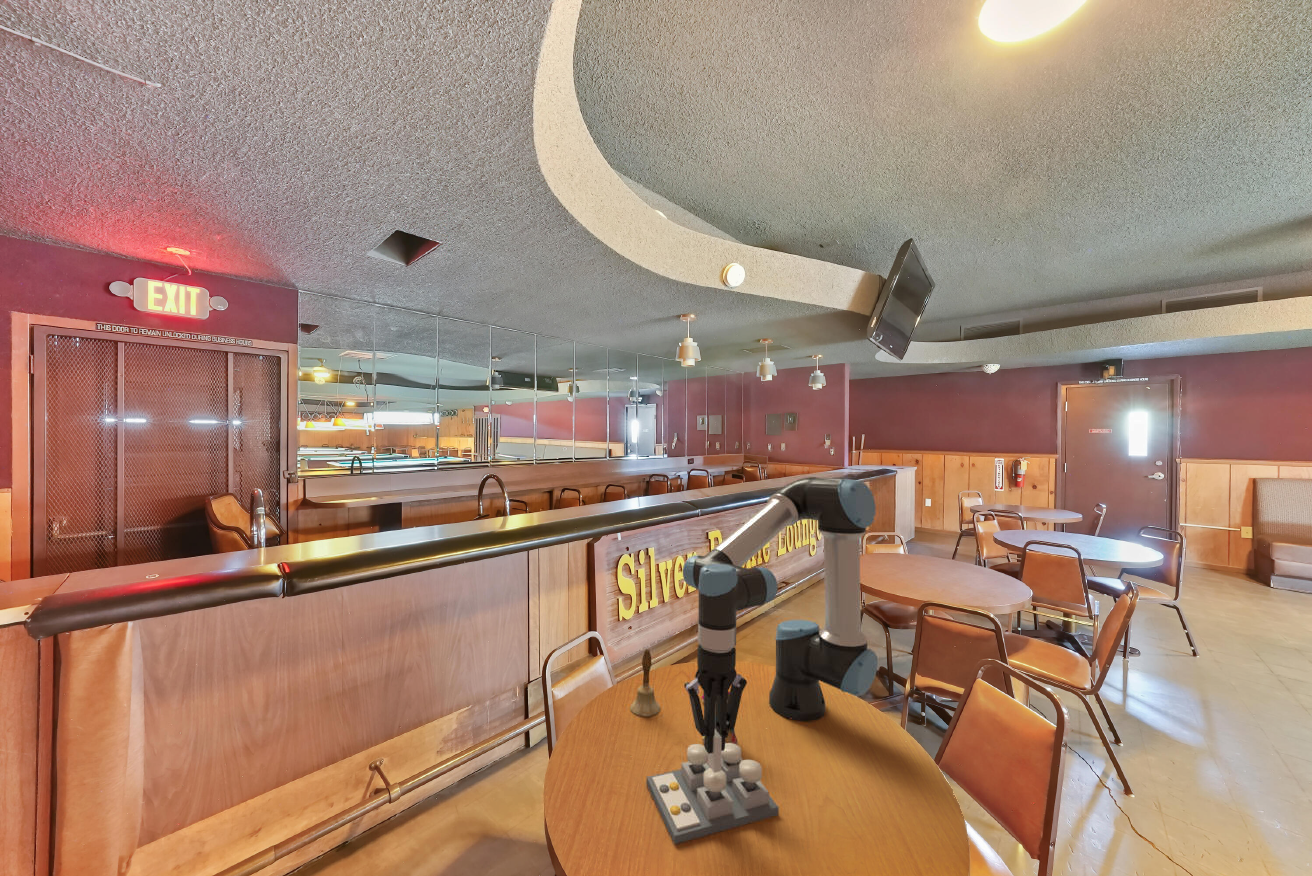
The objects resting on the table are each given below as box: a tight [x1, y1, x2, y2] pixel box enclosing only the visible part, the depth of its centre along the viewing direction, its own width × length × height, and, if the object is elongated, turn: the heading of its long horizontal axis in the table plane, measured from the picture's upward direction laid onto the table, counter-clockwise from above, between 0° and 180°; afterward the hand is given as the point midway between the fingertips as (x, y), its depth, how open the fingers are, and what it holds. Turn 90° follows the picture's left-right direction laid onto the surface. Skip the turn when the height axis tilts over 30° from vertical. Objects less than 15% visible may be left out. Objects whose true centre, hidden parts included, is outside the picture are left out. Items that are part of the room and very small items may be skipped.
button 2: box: [739, 759, 763, 790], centre depth 94 cm, size 4×4×4 cm
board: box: [646, 757, 780, 845], centre depth 95 cm, size 22×16×4 cm
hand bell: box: [629, 648, 661, 718], centre depth 128 cm, size 8×8×16 cm
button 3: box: [686, 743, 708, 773], centre depth 99 cm, size 4×4×4 cm
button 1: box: [721, 743, 742, 766], centre depth 101 cm, size 4×4×4 cm
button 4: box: [704, 768, 726, 800], centre depth 91 cm, size 4×4×4 cm
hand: (714, 767), depth 91 cm, fingers closed
